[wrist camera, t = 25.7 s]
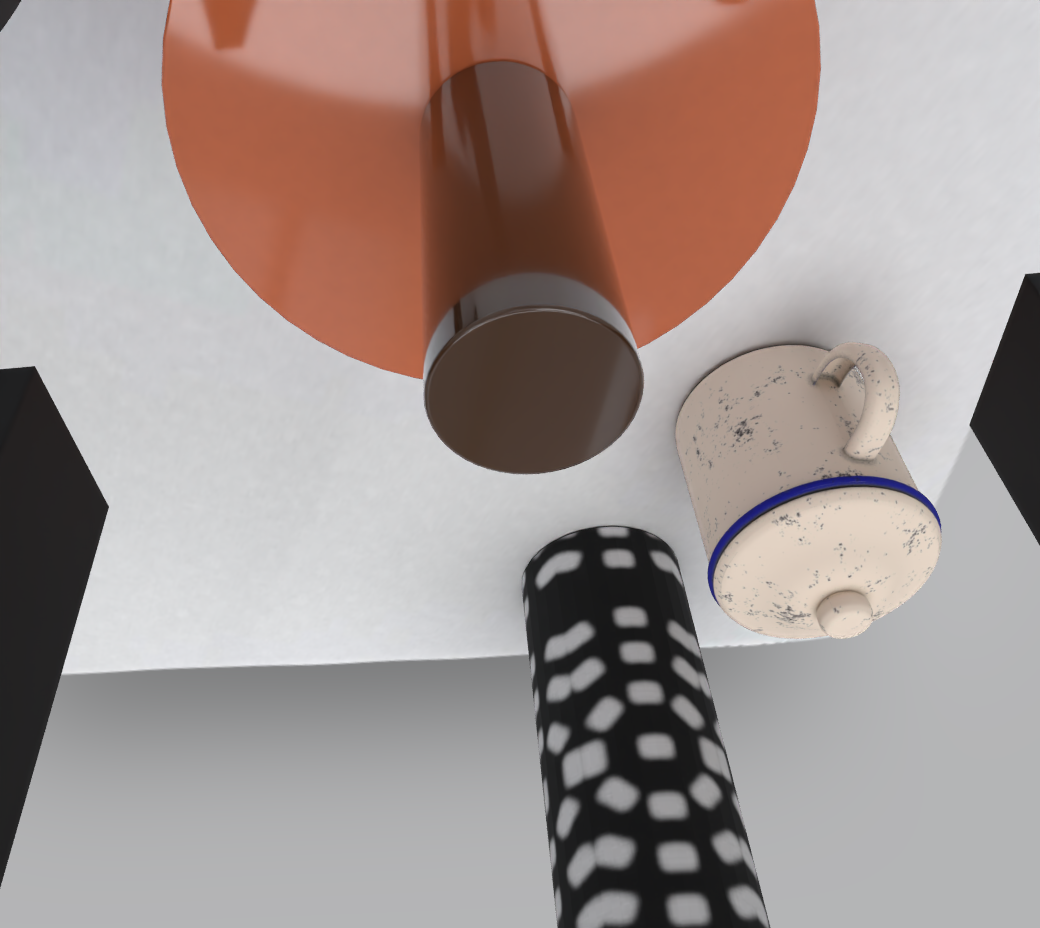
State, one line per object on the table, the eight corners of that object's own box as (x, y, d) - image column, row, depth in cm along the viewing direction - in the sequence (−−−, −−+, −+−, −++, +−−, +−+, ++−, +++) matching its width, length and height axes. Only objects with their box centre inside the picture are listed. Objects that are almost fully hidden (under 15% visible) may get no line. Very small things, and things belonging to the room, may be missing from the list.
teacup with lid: (818, 493, 49) (901, 699, 41) (643, 477, 47) (693, 688, 39) (938, 293, 41) (1073, 499, 32) (732, 263, 39) (819, 473, 31)
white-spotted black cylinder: (514, 626, 55) (553, 1027, 40) (530, 525, 49) (581, 952, 35) (661, 625, 56) (749, 1015, 41) (693, 526, 50) (808, 940, 36)
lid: (68, -235, 16) (-163, -45, 10) (858, -300, 16) (1156, -157, 10) (260, 378, 25) (208, 688, 19) (764, 330, 26) (886, 621, 19)
